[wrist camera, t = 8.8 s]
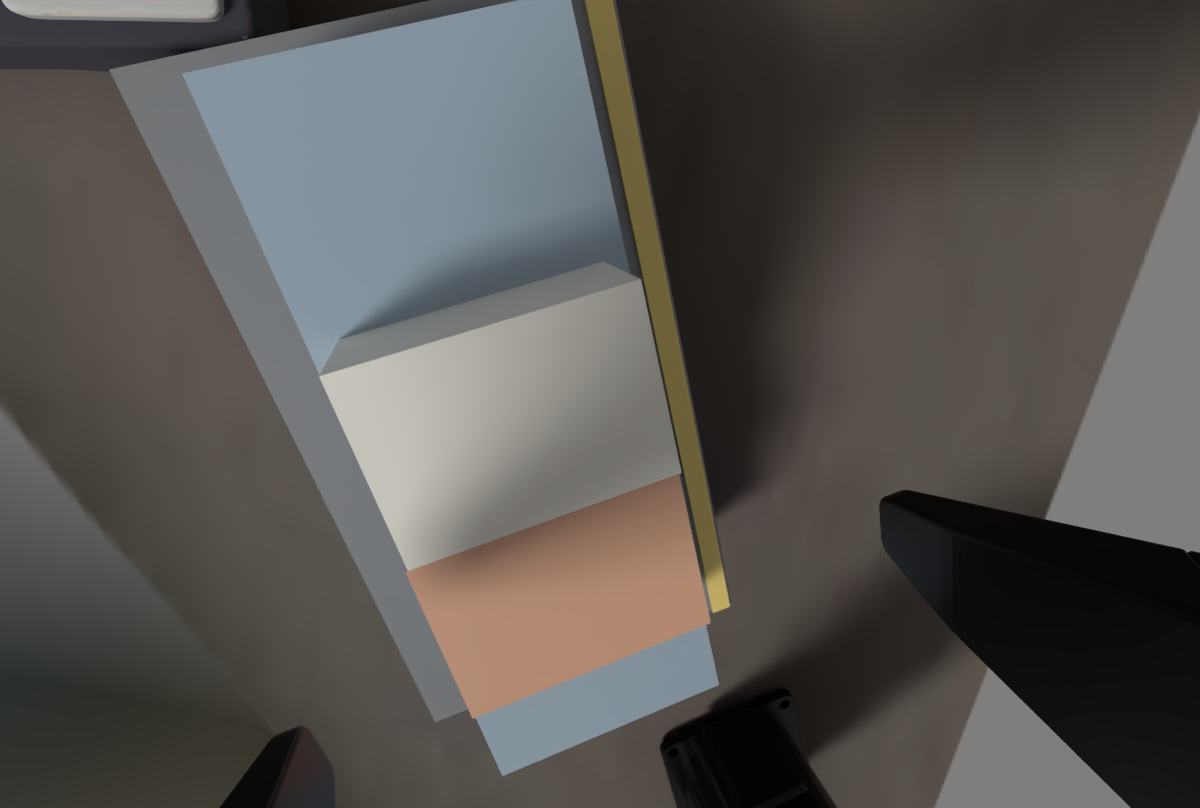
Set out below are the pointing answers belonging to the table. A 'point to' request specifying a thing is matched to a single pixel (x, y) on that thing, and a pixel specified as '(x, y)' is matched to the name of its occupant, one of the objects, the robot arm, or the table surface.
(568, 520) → the salmon brown block
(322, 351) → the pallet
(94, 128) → the table surface
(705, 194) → the table surface
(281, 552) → the table surface
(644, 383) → the off-white block
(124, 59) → the grey red white box
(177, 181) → the dock
